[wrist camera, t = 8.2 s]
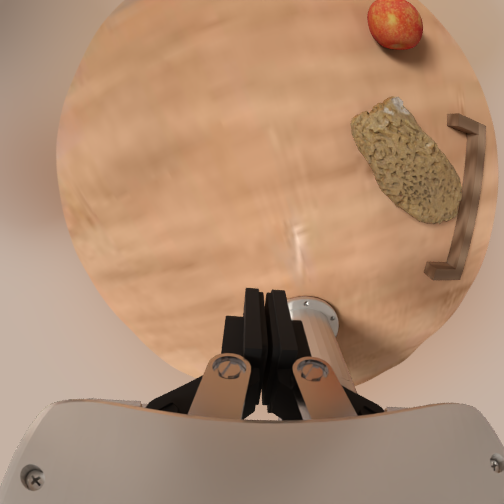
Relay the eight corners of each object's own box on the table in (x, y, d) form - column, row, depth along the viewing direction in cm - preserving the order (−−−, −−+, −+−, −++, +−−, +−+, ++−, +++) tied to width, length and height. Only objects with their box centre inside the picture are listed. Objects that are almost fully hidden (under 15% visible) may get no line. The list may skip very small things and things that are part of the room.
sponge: (332, 133, 35) (405, 252, 37) (353, 113, 27) (437, 258, 29) (391, 98, 34) (453, 205, 36) (416, 79, 27) (485, 204, 29)
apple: (407, 24, 26) (433, 8, 18) (404, 64, 29) (433, 53, 21) (361, 3, 25) (382, -19, 18) (356, 44, 28) (379, 25, 21)
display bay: (450, 272, 41) (459, 279, 38) (423, 272, 41) (432, 280, 38) (474, 125, 31) (485, 126, 29) (447, 113, 31) (458, 113, 28)
